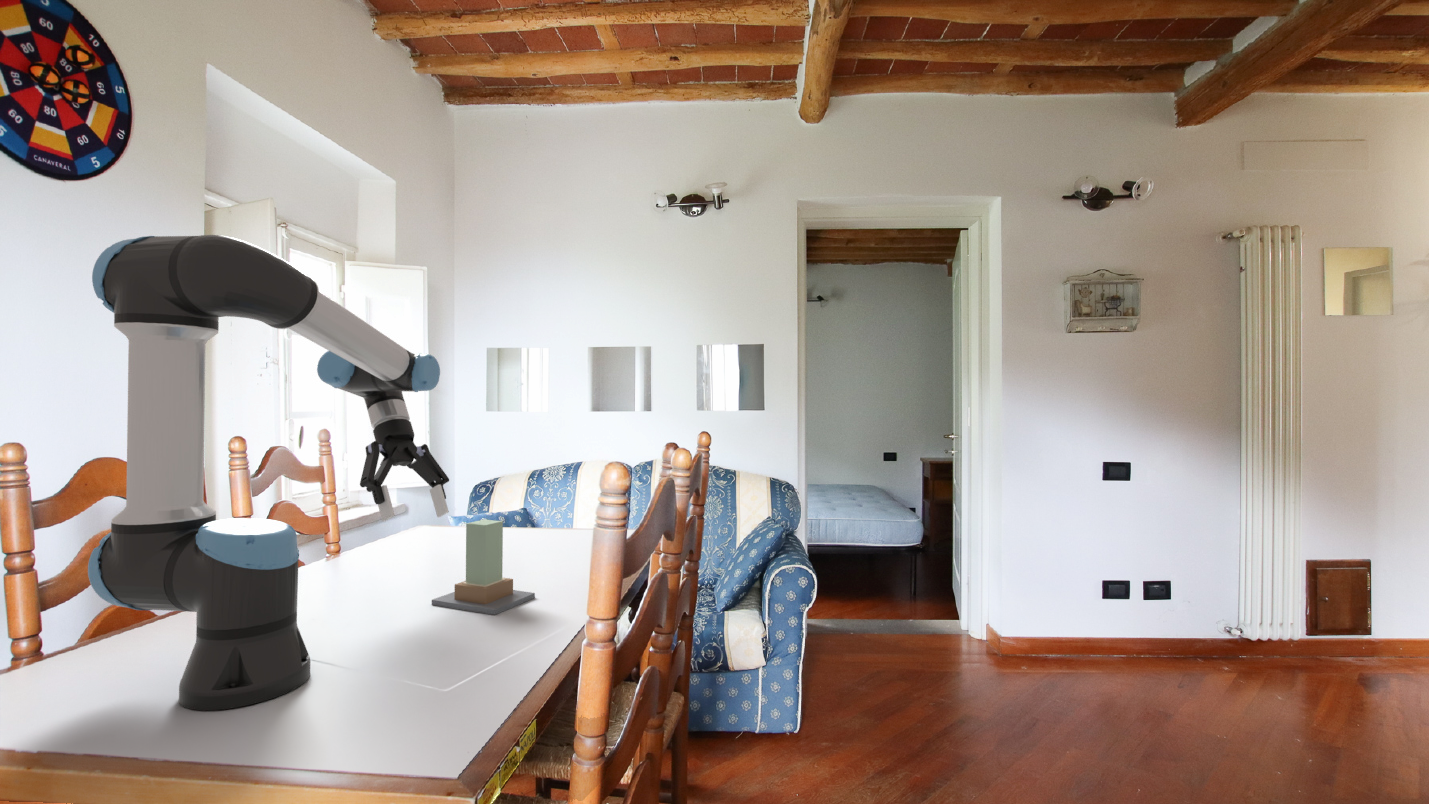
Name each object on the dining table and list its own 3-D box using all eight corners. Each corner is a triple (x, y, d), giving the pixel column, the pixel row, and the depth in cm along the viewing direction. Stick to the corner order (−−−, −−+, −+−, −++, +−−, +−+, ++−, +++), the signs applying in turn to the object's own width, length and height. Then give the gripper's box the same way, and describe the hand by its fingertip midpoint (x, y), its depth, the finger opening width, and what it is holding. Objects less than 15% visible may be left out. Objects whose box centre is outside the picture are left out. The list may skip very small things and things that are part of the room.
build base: (494, 614, 122) (494, 593, 122) (431, 604, 128) (431, 583, 128) (534, 597, 133) (534, 577, 133) (475, 589, 139) (475, 569, 139)
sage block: (485, 585, 127) (485, 525, 127) (465, 582, 129) (466, 523, 129) (502, 578, 132) (502, 521, 132) (483, 576, 134) (483, 519, 134)
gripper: (426, 436, 150) (451, 520, 144) (325, 428, 127) (349, 528, 121) (449, 421, 147) (475, 506, 141) (349, 411, 125) (375, 512, 119)
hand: (417, 516), depth 131 cm, fingers open, 13 cm apart
